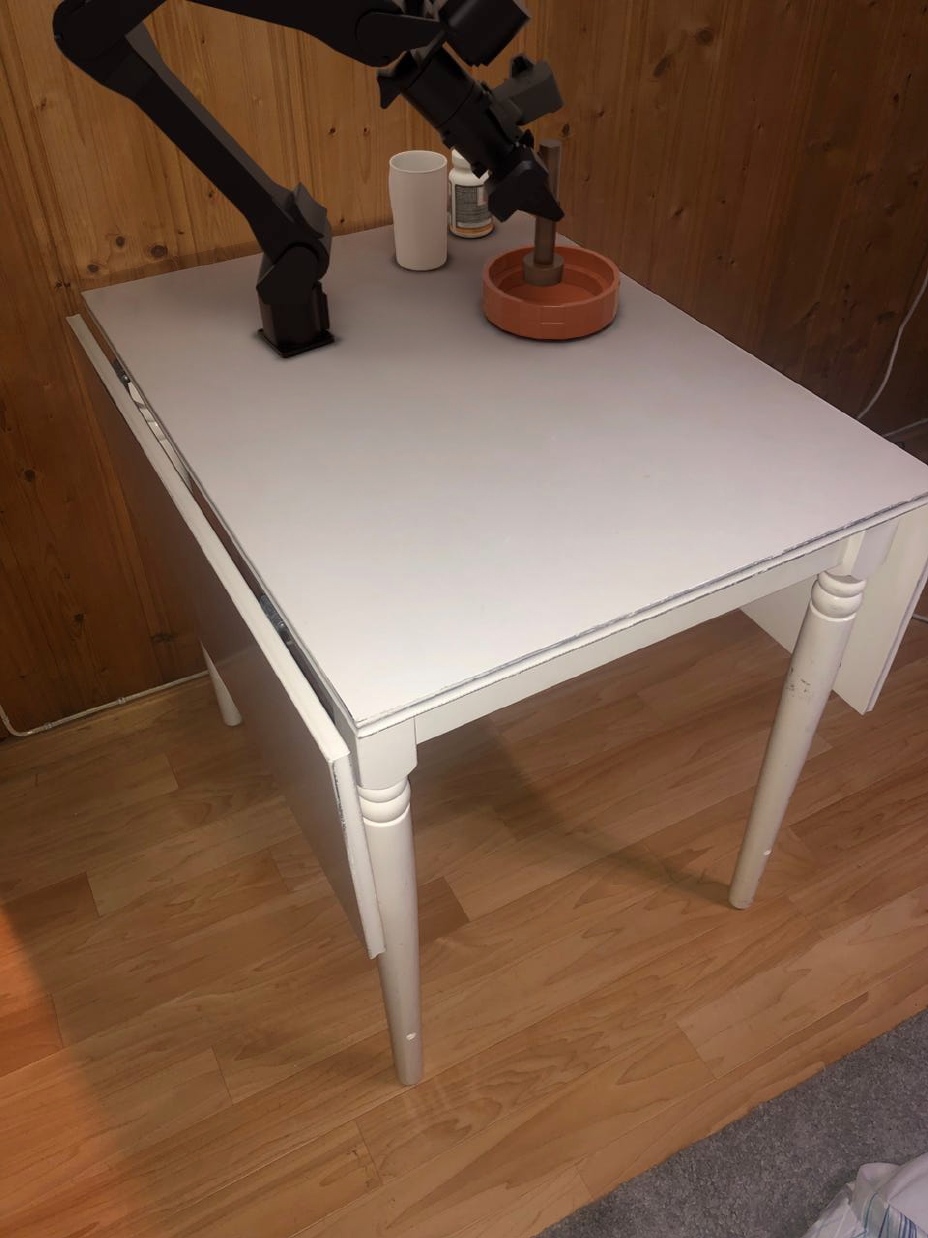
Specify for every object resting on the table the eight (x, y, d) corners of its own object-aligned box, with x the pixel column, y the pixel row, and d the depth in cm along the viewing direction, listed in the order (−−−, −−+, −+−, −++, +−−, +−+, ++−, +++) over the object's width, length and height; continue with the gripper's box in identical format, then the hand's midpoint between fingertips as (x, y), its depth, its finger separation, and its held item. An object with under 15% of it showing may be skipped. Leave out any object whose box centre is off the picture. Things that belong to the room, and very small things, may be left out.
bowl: (536, 358, 110) (538, 320, 106) (456, 302, 119) (456, 265, 116) (643, 318, 116) (648, 281, 113) (559, 268, 125) (562, 232, 122)
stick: (559, 288, 108) (569, 152, 98) (519, 284, 109) (524, 148, 99) (565, 270, 111) (575, 136, 101) (525, 266, 112) (532, 133, 102)
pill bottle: (501, 229, 133) (503, 150, 126) (472, 243, 130) (472, 163, 123) (469, 217, 136) (469, 139, 129) (440, 230, 133) (438, 152, 126)
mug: (459, 262, 126) (458, 163, 118) (413, 277, 123) (409, 176, 115) (415, 234, 132) (412, 137, 124) (371, 247, 129) (364, 149, 121)
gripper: (530, 65, 86) (641, 191, 95) (500, 6, 100) (600, 121, 108) (439, 164, 91) (552, 275, 100) (422, 95, 105) (523, 198, 113)
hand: (559, 212), depth 105 cm, fingers closed on stick, 2 cm apart
